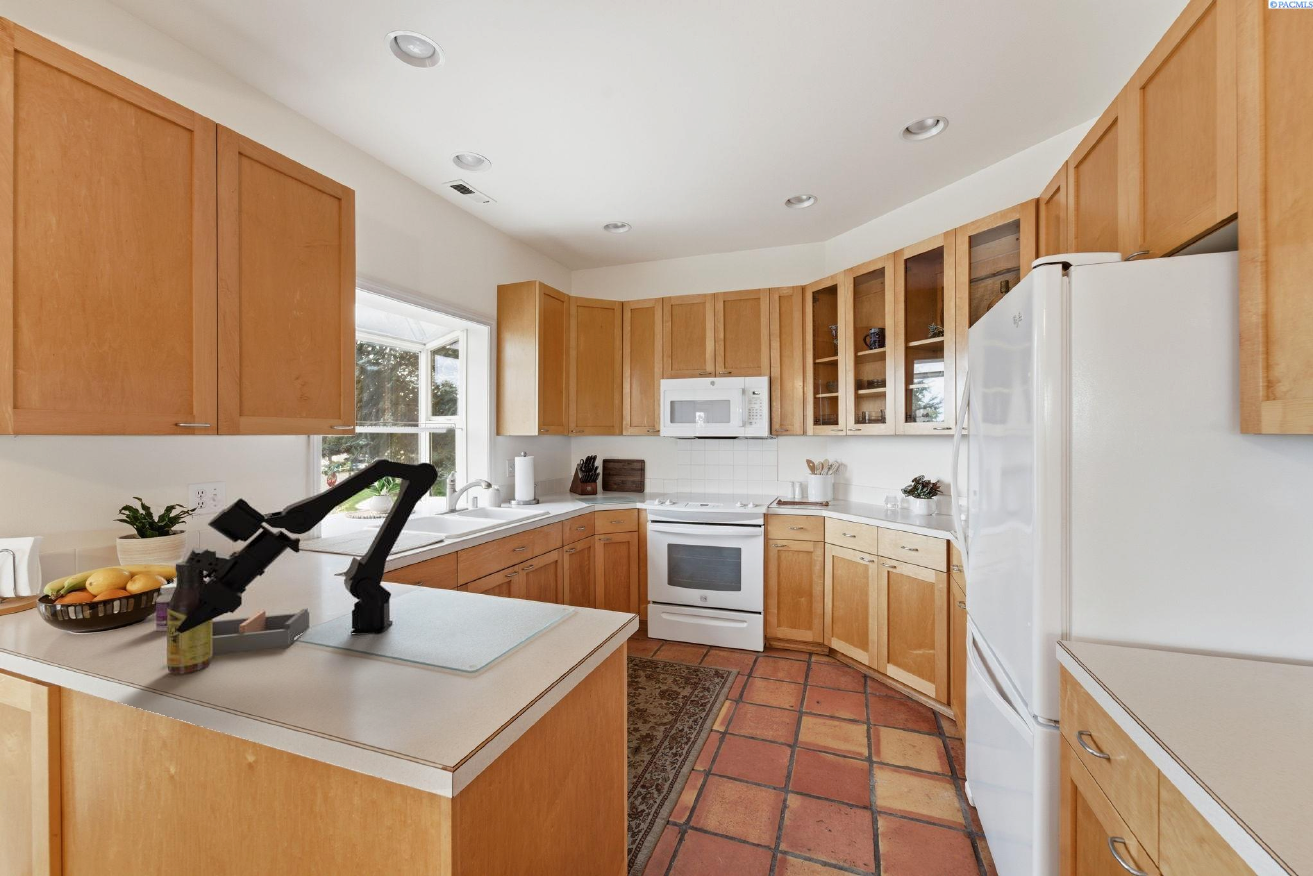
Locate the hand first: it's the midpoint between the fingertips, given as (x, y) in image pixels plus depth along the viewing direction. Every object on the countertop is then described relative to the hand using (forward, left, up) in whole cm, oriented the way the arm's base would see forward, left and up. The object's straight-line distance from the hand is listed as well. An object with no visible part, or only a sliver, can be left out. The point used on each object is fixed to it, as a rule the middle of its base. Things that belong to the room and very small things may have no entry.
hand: (179, 626), depth 94 cm
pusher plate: (-4, -13, -7) cm, 16 cm away
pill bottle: (+20, -25, -8) cm, 33 cm away
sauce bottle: (-1, -1, -8) cm, 8 cm away
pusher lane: (-3, -13, -8) cm, 16 cm away
